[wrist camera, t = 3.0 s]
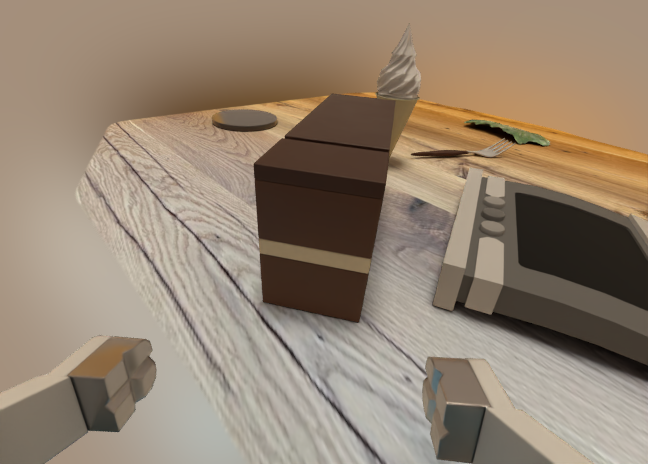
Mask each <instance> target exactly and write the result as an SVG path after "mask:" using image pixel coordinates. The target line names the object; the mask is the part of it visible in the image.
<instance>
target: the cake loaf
mask: <svg viewBox="0 0 648 464" xmlns="http://www.w3.org/2000/svg"><path fill="white" fill-rule="evenodd" d="M395 104H396V101H395V100H386V99H377V98H368V97H359V96H350V95H341V94H331V95H330V96H329V97H328V98H326V99H325V100H324V101H323V102H322V103H321V104H320V105H319V106H317V107H316V108H315V109H314V110H313V111H312V112H311V113H310V114H309V115H307V116H306V117H305V118H304V119H303V120H302V121H301V122H300V123H298V124H297V125H296V126H295V127H294V128H293V129H292V130H291V131H289V132H288V133H287V134H286V135H285V139H291V140H299V141H306V142H314V143H321V144H329V145H336V146H344V147H351V148H358V149H366V150H373V151H381V152H388V153H389V151H390V144H391V136H392V128H393V120H394V112H395Z"/></svg>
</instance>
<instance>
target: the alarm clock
mask: <svg viewBox="0 0 648 464" xmlns="http://www.w3.org/2000/svg"><path fill="white" fill-rule="evenodd" d="M482 173H483V169H476V168H470V169H469V173H468V176H467V180H466V183H465V187H464V190H463V194H462V197H461V201H460V204H459V208H458V211H457V215H456V219H455V222H454V226H453V229H452V233H451V236H450V240H449V243H448V247H447V250H446V254H445V258H444V261H443V265H442V269H441V273H440V277H439V281H438V285H437V289H436V293H435V297H434V301H433V305H434V306H437V307H441V308H444V309H447V310H450V311H453V308H454V305H455V302H456V301H459V302H463V303H465V307H467V308H470V309H473V310H477V311H480V312H483V313H487V314H490V315H491V314H492V312H496V313H500V314H503V315H506V316H510V317H513V318H516V319H520V320H523V321H526V322H530V323H533V324H536V325H540V326H543V327H546V328H549V329H552V330H555V331H558V332H561V333H564V334H567V335H570V336H573V337H575V338H578V339H581V340H584V341H587V342H590V343H593V344H596V345H598V346H601V347H603V348H606V349H608V350H611V351H613V352H616V353H618V354H621V355H623V356H626V357H628V358H631V359H633V360H636V361H638V362H641V363H643V364H646V365H648V221H647V220H644V219H642V218H640V217H637V216H635V215H633V214H630V215H629V216H628V217H625V216H622V215H620V214H617V213H615V212H612V211H610V210H607V209H605V208H603V207H600V206H598V205H595V204H592V203H589V202H586V201H584V200H581V199H578V198H575V197H572V196H569V195H566V194H563V193H559V192H555V191H552V190H548V189H544V188H540V187H537V186H532V185H526V184H521V183H516V182H510V181H505V178H500V177H493V176H488V178H485V177H482Z"/></svg>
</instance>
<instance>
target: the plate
mask: <svg viewBox="0 0 648 464" xmlns="http://www.w3.org/2000/svg"><path fill="white" fill-rule="evenodd" d="M212 122H213V124H214V125H215V126H217V127H219V128H222V129H226V130H233V131H259V130H265V129H269V128H272V127H274V126H275V125H276V124H277V117H276V116H275V115H273V114H271V113H268V112H264V111H258V110H228V111H223V112H219V113H216V114H214V115H213V116H212Z"/></svg>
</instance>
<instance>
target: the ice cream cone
mask: <svg viewBox="0 0 648 464" xmlns="http://www.w3.org/2000/svg"><path fill="white" fill-rule="evenodd" d="M415 57H416V52H415V50H414V46H413V41H412V35H411V28H410V23H409V25H408V27H407V29H406V31H405V33H404V35H403V37H402V38H401V40H400V42H399V44H398V46H397V47H396V48H395V50H394V51H393V52H392V57H391V60H390V62H389V64H388V65H387V66H386V67H385V68H383V69H382V70H381V73H380V77H379V78H378V81H377V85H378V86H377V87H378V91H379V92H376V93H375V94H376V95H377V99H386V100H395V101H396V104H395V112H394V120H393V128H392V136H391V144H390V151H389V157H390V155H391V153H392V151H393V149H394V147H395V145H396V143H397V141H398V139H399V137H400V135H401V133H402V131H403V129H404V127H405V125H406V123H407V121H408V119H409V117H410V115H411V113H412V110H413V108H414V106H415V104H416V102H417V100H418V99H419V97H418V95H417V94H418V93H419V89H420V82H421V75H420V72H419V71H418V69H417V68H416V66H415Z"/></svg>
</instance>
